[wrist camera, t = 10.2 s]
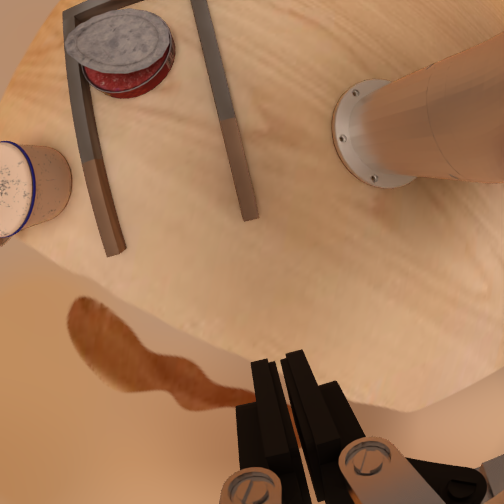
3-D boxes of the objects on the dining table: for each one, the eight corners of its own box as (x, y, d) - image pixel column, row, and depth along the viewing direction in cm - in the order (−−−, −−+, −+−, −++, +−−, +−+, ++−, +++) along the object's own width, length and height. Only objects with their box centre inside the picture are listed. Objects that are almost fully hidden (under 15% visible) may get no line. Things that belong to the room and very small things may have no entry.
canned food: (108, 58, 32) (76, 3, 22) (184, 39, 31) (164, -25, 22) (90, 127, 29) (42, 70, 20) (178, 107, 29) (147, 33, 19)
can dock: (198, -24, 26) (197, -35, 24) (256, 214, 34) (259, 217, 31) (70, 19, 26) (62, 11, 23) (114, 251, 33) (107, 257, 31)
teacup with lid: (35, 131, 29) (-27, 122, 18) (88, 169, 31) (31, 171, 20) (-3, 217, 31) (-64, 235, 19) (44, 257, 33) (-12, 290, 21)
